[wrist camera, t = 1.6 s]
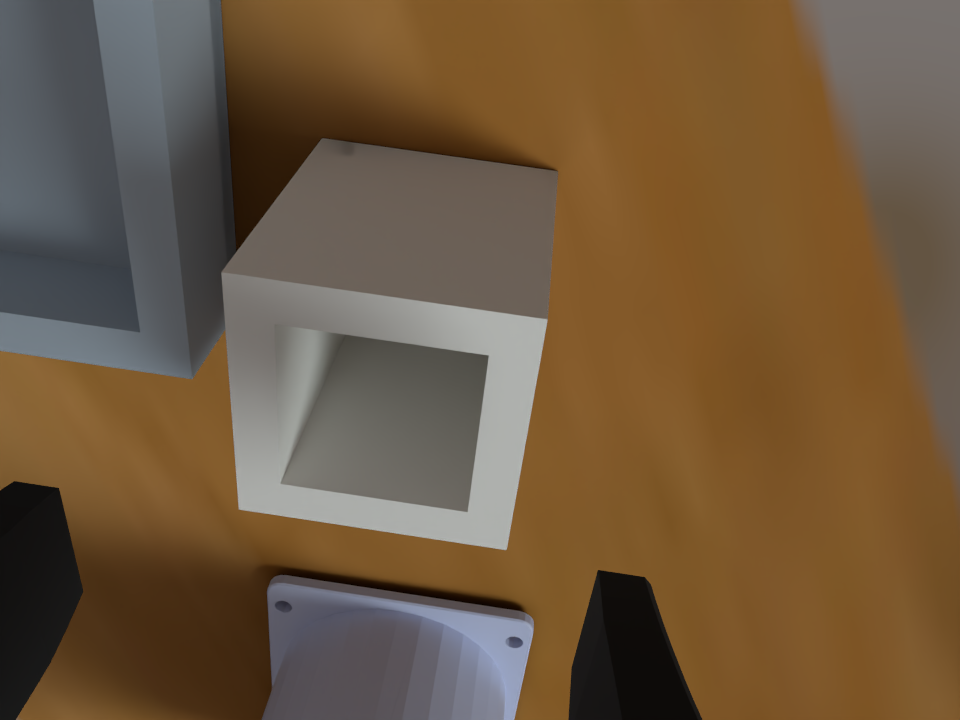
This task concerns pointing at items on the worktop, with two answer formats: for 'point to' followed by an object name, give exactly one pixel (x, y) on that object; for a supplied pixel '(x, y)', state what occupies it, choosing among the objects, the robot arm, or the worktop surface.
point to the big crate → (114, 182)
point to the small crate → (390, 341)
